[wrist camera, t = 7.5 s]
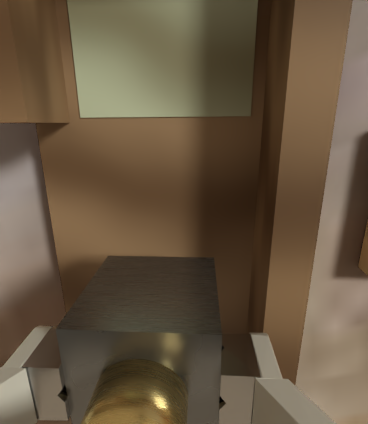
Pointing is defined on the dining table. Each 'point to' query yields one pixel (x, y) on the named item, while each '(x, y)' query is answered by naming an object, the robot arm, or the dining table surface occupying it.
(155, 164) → the open box
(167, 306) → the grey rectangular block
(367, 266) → the tan square plate
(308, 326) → the dining table surface
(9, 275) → the dining table surface
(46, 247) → the dining table surface
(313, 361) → the dining table surface
